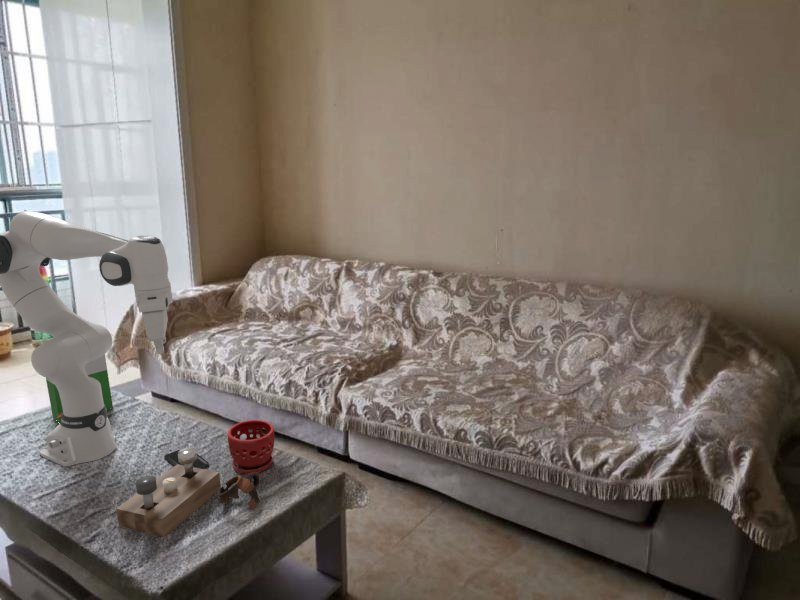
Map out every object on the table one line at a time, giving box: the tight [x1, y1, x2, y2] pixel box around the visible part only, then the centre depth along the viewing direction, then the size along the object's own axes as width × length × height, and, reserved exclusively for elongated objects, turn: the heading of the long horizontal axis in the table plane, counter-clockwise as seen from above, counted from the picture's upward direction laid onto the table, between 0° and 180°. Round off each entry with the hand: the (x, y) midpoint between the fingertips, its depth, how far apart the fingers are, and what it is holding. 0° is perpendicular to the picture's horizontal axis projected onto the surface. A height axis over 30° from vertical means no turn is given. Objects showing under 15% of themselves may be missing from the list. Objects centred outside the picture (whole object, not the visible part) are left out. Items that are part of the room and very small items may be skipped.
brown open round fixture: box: [217, 472, 261, 511], centre depth 152 cm, size 12×10×8 cm
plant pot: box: [227, 419, 275, 475], centre depth 168 cm, size 13×13×12 cm
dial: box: [163, 478, 177, 493], centre depth 149 cm, size 3×3×3 cm
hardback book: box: [45, 353, 114, 424], centre depth 205 cm, size 18×7×24 cm, turn 137°
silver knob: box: [178, 446, 197, 477], centre depth 155 cm, size 5×5×7 cm
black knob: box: [134, 475, 157, 508], centre depth 142 cm, size 5×5×7 cm
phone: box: [163, 447, 210, 469], centre depth 173 cm, size 8×1×15 cm
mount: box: [115, 464, 222, 538], centre depth 150 cm, size 14×22×5 cm, turn 161°
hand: (161, 347), depth 155 cm, fingers open, 8 cm apart
